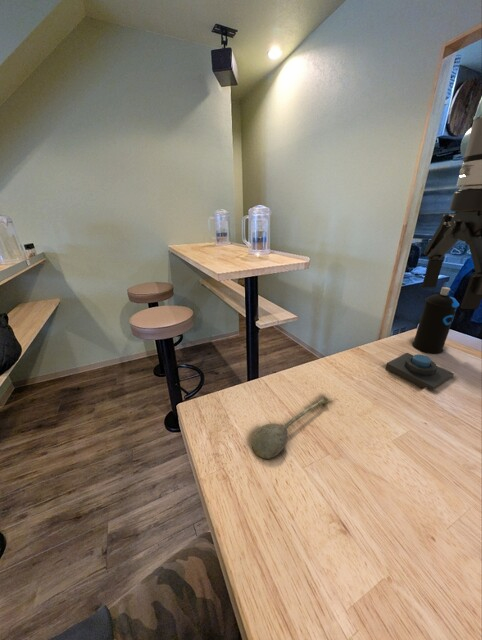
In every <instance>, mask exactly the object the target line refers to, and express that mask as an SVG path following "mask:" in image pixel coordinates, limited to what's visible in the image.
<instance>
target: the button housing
mask: <svg viewBox="0 0 482 640" xmlns="http://www.w3.org/2000/svg"><path fill="white" fill-rule="evenodd" d="M414 355H415V354H411V353H409V352H405V353H404V354H402V355H400V356H398V357H396V358H393V359H392V360H390V361H388V362H386V364H385V368H384V369H385V370H386V371H388V372H390V373H391V374H392V375H395V376H397V377H399V378H401V379H403V380H404V381H406V382H408V383H410V384H411V385H413V386H416V387H417V388H419V389H421V390H424V389H427V390H429V391H432V392H433V391H435V390H436V389H437V388H439V387H441V386H442V385H443V384H445V383H446V382H448V381H449V380H451V379H452V378H453V377H454V375H455V373H454V372H452V371H450V370H447V369H445V368H442V367H440V366H438V365H437V364H436V363H435V361H433V360H432V359H431V363H430V366H429V367H428V368H424V367H419V366H417V365H415V364H413V363H412V359H413V356H414Z"/></svg>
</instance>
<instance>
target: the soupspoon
mask: <svg viewBox="0 0 482 640" xmlns="http://www.w3.org/2000/svg"><path fill="white" fill-rule="evenodd" d="M329 402H330V401H329V398H328V397H326V396H323V397H322V398H321V400H319V401H316V402H315V403H313V404H312V405H310V406H309V407H307V408H306V409H304V410H303V411H301V412H300V413H298V414H297V415H295V416H294V417H292V418H291V419H289V420H288V421H287V422H286V423H284V424H283V425H281V424H279V423H266V424H263V425H262V426H260V427H259V428H258V429H257V430H256V431H255V433H254V434H253V437H252V441H251V445H252V449H253V451H254V453H255V454H256V455H257V456H258V457H259V458H262V459H265V460H270V459H273V458H274V457H276V456H277V455H279V454H280V453H281V452H282V451H283V449H284V448H285V447H286V444H287V442H288V437H289V434H288V430H287V429H288V428H289V427H291V425H293V424H294V423H295V422H296V421H297V420H299V419H300V418H302V417H303V416H305V415H306V414H308V412H310V411H311V410H313V409H315V408H316V407H319V406H321V405H328V404H329Z"/></svg>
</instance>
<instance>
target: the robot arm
mask: <svg viewBox="0 0 482 640" xmlns="http://www.w3.org/2000/svg"><path fill="white" fill-rule="evenodd" d="M472 120H473V122H472V125H471V127H470V128H469V129H468V130H467V131H466V132H465V133H464V136H463V137H462V139H461V142H460V147H459V148H460V149H459V150H460V154H461V155H462V158H463V159H462V164H461V168H460V169H459V175H458V179H457V182H456V187H457V188H459V190H455V192H453V194H452V199H451V201H450V206H449V211H450V212H454V213H453V214H452V213H451V214H443V215H442V217H441V220H440V223H439V225H438V227H437V229H436V230H435V232H434V234H433V235H432V237H431V239H430V240H429V242H428V244H427V246H426V247H425V249H424V251H423V255H424V256H427V260H428V261H427V266H426V269H425V274H424V276H423V281H422V285H421V287H422V288H436V287H437V283H438V280H439V277H440V273H441V270H442V268H443V267H442V266H443V263H444V259H445V257H444V256H445V255H446V254H447V253H448V252H449V250H451V249H452V248H453V246H455V245H456V244H457V242H458V241H461V242H465V244H466V245H468V246H469V247H468V248H469V251H470V255H471V260H472V264H473V269H474V272H475V273H473V274H471V275H470V278H469V281H468V283H467V286H466V289H465V292H464V295H463V298H462V300H461V304H460V305H459V308H460V309H462V310H479V307H480V306H481V305H480V304H481V302H482V96H481V98H480V100H479V102H478V105H477V108H476V112H475V115H474V117H473V119H472Z"/></svg>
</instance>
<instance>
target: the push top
mask: <svg viewBox="0 0 482 640" xmlns="http://www.w3.org/2000/svg"><path fill="white" fill-rule="evenodd" d="M413 355H414V356H413V359H412V363H413V364H415V365H417V366H419V367H424V368H428V367H429V366H430V363H431V360H432V359H431V358H430V357H429V356H427V355H424V354H421V353H420V354H419V353H417V354H413Z"/></svg>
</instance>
